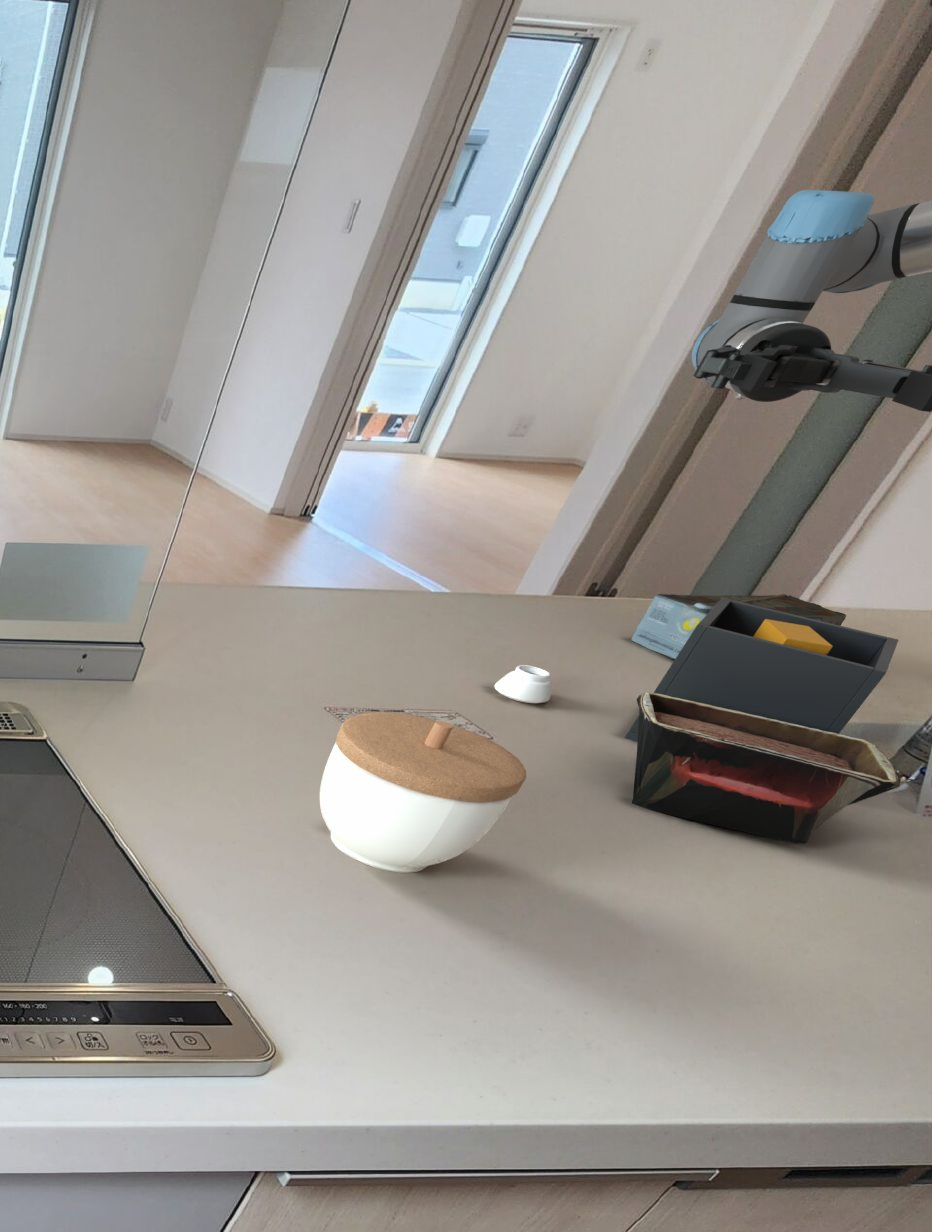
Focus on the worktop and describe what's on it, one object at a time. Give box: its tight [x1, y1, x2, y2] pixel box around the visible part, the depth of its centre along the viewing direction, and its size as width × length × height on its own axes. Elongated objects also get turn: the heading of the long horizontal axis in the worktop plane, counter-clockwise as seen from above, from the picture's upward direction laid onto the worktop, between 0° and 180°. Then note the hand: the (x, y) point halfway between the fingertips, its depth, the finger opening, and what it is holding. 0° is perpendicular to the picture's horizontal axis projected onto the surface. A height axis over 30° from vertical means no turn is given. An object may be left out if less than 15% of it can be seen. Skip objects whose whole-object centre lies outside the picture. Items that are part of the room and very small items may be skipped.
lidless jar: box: [494, 664, 552, 704], centre depth 114 cm, size 5×3×5 cm
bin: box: [624, 598, 899, 743], centre depth 104 cm, size 14×14×12 cm
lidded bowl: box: [319, 712, 527, 874], centre depth 83 cm, size 13×13×11 cm
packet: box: [753, 619, 833, 655], centre depth 104 cm, size 4×6×11 cm, turn 155°
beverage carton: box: [631, 593, 847, 660], centre depth 128 cm, size 8×19×7 cm, turn 96°
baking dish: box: [631, 691, 901, 845], centre depth 94 cm, size 14×18×10 cm
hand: (848, 386), depth 103 cm, fingers open, 13 cm apart
